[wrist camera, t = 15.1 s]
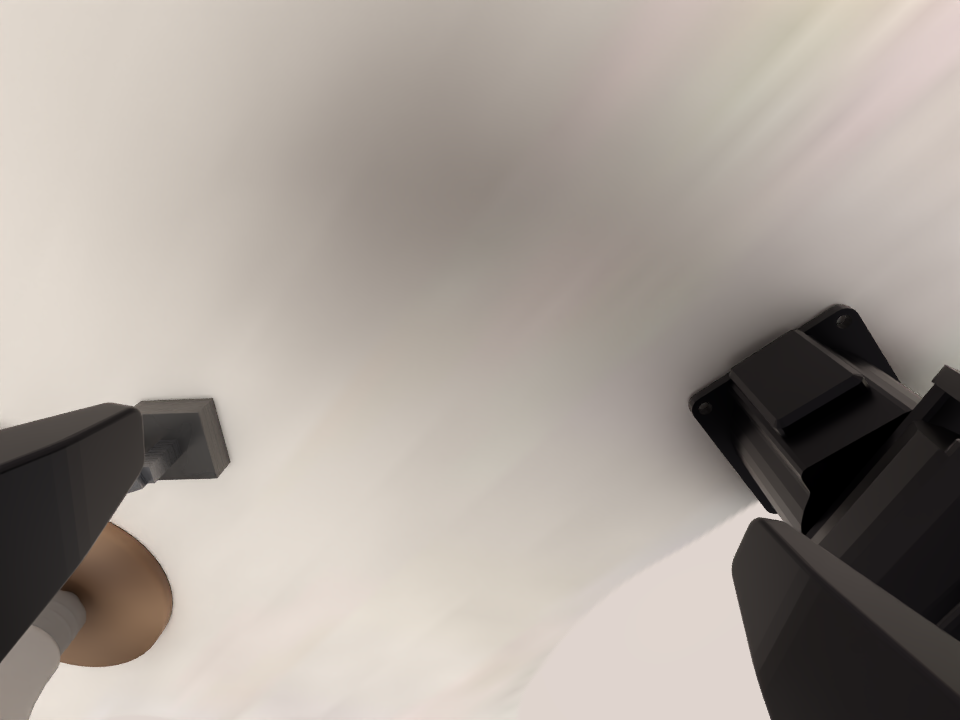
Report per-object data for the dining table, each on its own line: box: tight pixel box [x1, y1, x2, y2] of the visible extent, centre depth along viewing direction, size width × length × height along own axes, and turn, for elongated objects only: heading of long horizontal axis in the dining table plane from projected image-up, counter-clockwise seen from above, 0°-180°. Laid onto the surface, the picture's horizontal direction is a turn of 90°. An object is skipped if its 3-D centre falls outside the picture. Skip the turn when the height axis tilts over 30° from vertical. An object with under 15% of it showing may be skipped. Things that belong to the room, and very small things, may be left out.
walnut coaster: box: [60, 522, 172, 667], centre depth 27 cm, size 9×9×1 cm
